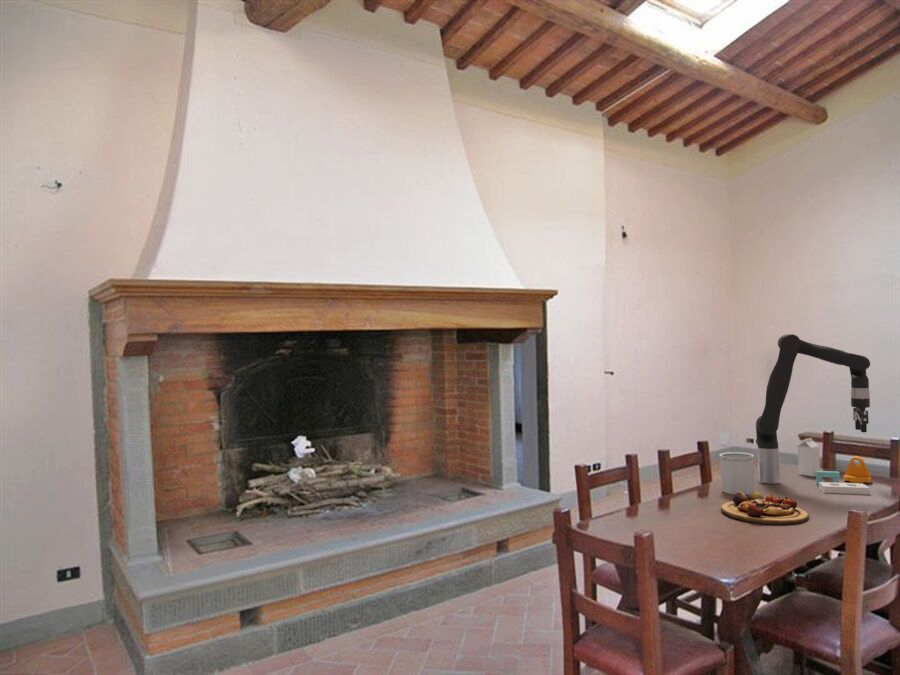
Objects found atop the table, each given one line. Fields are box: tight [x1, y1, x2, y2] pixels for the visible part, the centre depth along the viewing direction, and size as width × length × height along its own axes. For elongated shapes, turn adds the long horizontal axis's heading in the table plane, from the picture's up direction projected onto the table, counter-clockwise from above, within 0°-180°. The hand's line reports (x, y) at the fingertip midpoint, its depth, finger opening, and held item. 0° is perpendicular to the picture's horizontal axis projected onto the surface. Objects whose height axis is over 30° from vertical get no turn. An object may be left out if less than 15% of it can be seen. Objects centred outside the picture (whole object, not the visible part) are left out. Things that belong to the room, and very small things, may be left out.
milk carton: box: [797, 437, 821, 477], centre depth 318 cm, size 7×7×19 cm
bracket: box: [843, 455, 872, 484], centre depth 300 cm, size 11×7×12 cm, turn 50°
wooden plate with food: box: [720, 490, 810, 526], centre depth 250 cm, size 32×32×8 cm
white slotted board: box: [818, 481, 871, 496], centre depth 282 cm, size 18×9×3 cm, turn 71°
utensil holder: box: [719, 451, 756, 496], centre depth 288 cm, size 15×15×18 cm
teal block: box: [814, 470, 841, 486], centre depth 295 cm, size 10×3×6 cm, turn 71°
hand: (860, 431), depth 292 cm, fingers open, 8 cm apart
